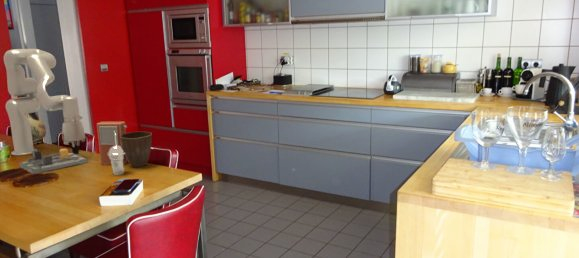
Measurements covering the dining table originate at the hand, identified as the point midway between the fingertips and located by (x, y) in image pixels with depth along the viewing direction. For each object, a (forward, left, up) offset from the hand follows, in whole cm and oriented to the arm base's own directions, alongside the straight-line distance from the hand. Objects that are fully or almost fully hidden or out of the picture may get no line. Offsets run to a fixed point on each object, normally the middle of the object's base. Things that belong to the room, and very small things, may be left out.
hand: (76, 153), depth 233 cm
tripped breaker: (0, -6, -1) cm, 6 cm away
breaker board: (0, -12, -4) cm, 12 cm away
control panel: (+22, +10, -4) cm, 25 cm away
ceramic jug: (-62, -2, -4) cm, 62 cm away
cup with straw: (+41, +3, -4) cm, 41 cm away
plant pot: (+36, +16, -4) cm, 40 cm away
